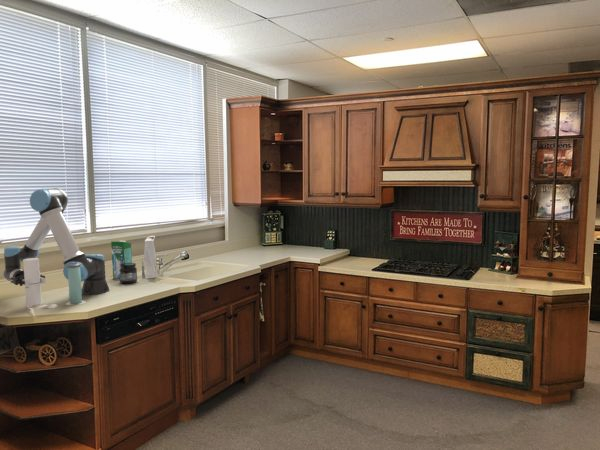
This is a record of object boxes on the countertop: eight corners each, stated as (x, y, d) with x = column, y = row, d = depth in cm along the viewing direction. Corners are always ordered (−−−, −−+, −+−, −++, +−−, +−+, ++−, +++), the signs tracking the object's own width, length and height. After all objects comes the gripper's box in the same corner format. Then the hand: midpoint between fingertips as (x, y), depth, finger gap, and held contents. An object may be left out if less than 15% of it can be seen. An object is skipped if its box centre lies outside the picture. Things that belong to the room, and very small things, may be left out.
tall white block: (38, 307, 254) (35, 260, 251) (24, 308, 253) (20, 260, 251) (44, 304, 261) (41, 257, 258) (30, 304, 260) (27, 258, 258)
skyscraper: (152, 276, 334) (150, 235, 331) (159, 277, 328) (157, 236, 326) (141, 278, 327) (139, 236, 324) (148, 279, 322) (146, 237, 319)
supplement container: (128, 280, 320) (127, 262, 319) (141, 281, 316) (140, 263, 315) (116, 283, 311) (115, 264, 309) (129, 284, 306) (128, 265, 305)
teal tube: (81, 300, 262) (79, 263, 260) (83, 302, 257) (81, 265, 255) (68, 302, 259) (66, 264, 257) (70, 304, 253) (67, 266, 251)
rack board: (84, 301, 265) (84, 298, 265) (88, 306, 255) (88, 303, 255) (35, 308, 253) (35, 305, 252) (37, 313, 243) (37, 310, 243)
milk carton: (132, 276, 333) (130, 239, 330) (125, 278, 324) (123, 241, 322) (120, 275, 335) (119, 239, 332) (113, 278, 326) (111, 241, 324)
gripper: (39, 280, 275) (56, 286, 260) (-1, 286, 260) (15, 293, 245) (38, 267, 274) (56, 272, 259) (-2, 272, 260) (14, 278, 244)
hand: (36, 282), depth 252 cm, fingers closed on tall white block, 7 cm apart
